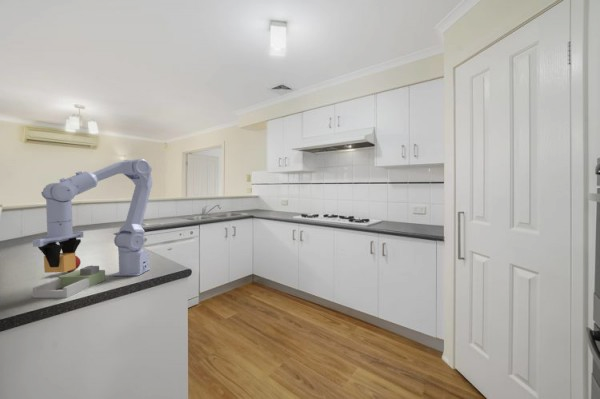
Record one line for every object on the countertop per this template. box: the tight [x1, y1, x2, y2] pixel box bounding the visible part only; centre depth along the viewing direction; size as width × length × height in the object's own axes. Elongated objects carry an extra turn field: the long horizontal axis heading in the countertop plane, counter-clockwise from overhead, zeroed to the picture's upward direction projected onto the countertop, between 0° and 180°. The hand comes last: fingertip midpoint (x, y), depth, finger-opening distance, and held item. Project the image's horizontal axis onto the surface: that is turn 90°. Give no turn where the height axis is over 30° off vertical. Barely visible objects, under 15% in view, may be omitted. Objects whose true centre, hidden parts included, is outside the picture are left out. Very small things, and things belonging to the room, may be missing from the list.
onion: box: [66, 255, 81, 273], centre depth 97 cm, size 6×6×8 cm
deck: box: [32, 265, 106, 299], centre depth 82 cm, size 10×15×6 cm, turn 1°
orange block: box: [43, 252, 76, 274], centre depth 79 cm, size 6×4×5 cm, turn 90°
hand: (61, 264), depth 79 cm, fingers closed on orange block, 4 cm apart
